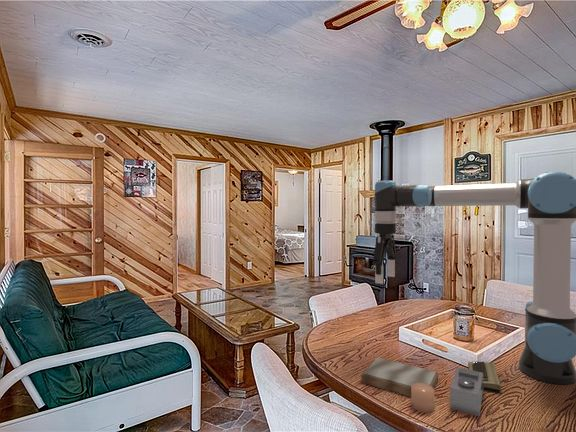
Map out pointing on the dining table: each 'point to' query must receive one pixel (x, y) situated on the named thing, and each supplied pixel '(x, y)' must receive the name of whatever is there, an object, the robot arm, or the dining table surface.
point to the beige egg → (422, 397)
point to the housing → (466, 391)
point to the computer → (487, 375)
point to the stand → (397, 376)
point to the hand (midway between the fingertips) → (385, 279)
